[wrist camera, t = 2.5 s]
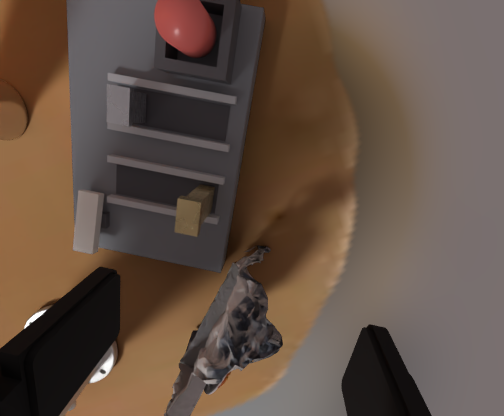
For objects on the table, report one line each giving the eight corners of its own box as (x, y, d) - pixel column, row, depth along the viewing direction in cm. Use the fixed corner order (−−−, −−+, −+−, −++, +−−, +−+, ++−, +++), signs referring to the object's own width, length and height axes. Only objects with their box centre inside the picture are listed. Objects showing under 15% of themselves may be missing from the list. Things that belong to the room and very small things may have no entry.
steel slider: (147, 125, 24) (128, 126, 21) (127, 121, 25) (106, 122, 22) (149, 92, 24) (129, 88, 21) (128, 88, 24) (106, 83, 21)
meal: (222, 342, 35) (192, 465, 23) (193, 327, 35) (145, 443, 22) (282, 252, 30) (284, 345, 18) (248, 234, 30) (227, 315, 18)
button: (213, 61, 21) (201, 51, 18) (172, 54, 21) (152, 42, 18) (219, 13, 20) (207, -9, 16) (176, 5, 20) (156, -18, 17)
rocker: (97, 251, 28) (92, 254, 27) (79, 247, 28) (72, 250, 27) (104, 193, 27) (98, 194, 26) (84, 189, 27) (78, 190, 26)
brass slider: (213, 213, 27) (196, 236, 21) (195, 209, 27) (174, 232, 21) (217, 185, 26) (201, 203, 20) (198, 181, 26) (177, 198, 20)
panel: (225, 261, 31) (215, 286, 27) (90, 233, 32) (57, 253, 27) (265, 18, 24) (262, -7, 19) (86, -13, 24) (39, -45, 19)
